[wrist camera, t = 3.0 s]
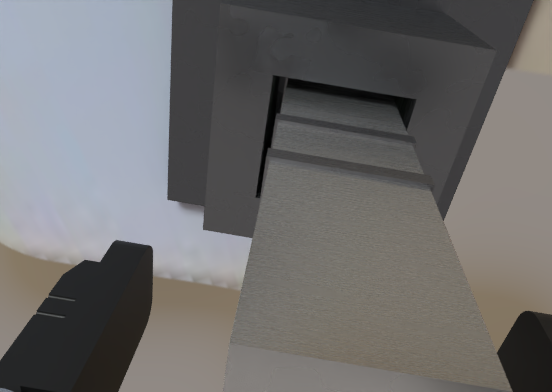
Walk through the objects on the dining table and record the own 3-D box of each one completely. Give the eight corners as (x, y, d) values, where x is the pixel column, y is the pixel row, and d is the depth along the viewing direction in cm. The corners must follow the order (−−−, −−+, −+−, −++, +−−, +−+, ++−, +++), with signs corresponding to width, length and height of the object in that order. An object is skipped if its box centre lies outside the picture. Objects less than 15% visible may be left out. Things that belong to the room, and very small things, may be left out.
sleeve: (548, -62, 20) (668, -54, 13) (430, 235, 28) (465, 336, 21) (182, -125, 20) (107, -151, 13) (172, 191, 28) (123, 277, 21)
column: (381, 58, 22) (527, 386, 6) (360, 140, 24) (428, 531, 9) (292, 42, 22) (219, 334, 6) (279, 126, 24) (201, 493, 9)
